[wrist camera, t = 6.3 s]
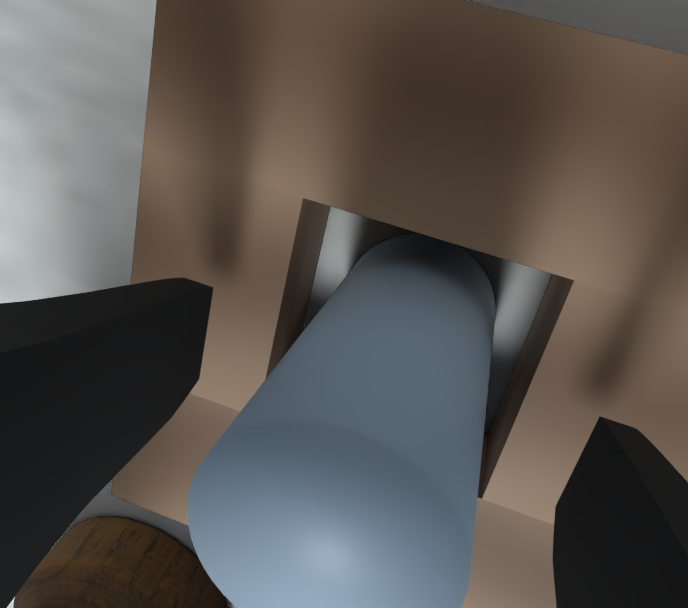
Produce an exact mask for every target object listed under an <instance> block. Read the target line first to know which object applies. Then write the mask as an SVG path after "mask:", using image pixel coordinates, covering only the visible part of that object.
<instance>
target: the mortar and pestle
mask: <svg viewBox="0 0 688 608" xmlns="http://www.w3.org/2000/svg"><path fill="white" fill-rule="evenodd" d="M14 608H228V607H227V603H226V601H225V598H224V596H223V594H222V592H221V591H220V590H219V589H218V587H217V586H216V585H215V584H214V582H213V581H212V580H211V578H210V577H209V575H208V574H207V572H206V571H205V569H204V567H203V566H202V564H201V562H200V561H199V560H198V559H197V558H196V557H195V556H194V555H193V554H192V553H191V552H190V551H189V550H187V549H186V548H185V547H184V546H182V545H181V544H180V543H179V542H177V541H176V540H174V539H172V538H171V537H169V536H168V535H166V534H164V533H162V532H161V531H159V530H156V529H154V528H152V527H150V526H147V525H145V524H142V523H139V522H136V521H133V520H129V519H124V518H117V517H101V518H93V519H89V520H86V521H83V522H81V523H79V524H77V525H75V526H74V527H73V528H71V529H70V530H69V531H68V532H67V533H66V534H65V535H64V536H63V537H62V538H61V539H60V540H59V541H58V542H57V543H56V544H55V545H54V546H53V548H52V549H51V550H50V551H49V552H48V553H47V555H46V556H45V557H44V558H43V560H42V561H41V562H40V563H39V565H38V566H37V567H36V569H35V570H34V571H33V573H32V574H31V575H30V577H29V578H28V579H27V581H26V582H25V583H24V585H23V586H22V587H21V589H20V590H19V592H18V593H17V594H16V596H15V599H14Z"/></svg>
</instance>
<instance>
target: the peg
mask: <svg viewBox="0 0 688 608" xmlns="http://www.w3.org/2000/svg"><path fill="white" fill-rule="evenodd" d="M494 323H495V299H494V293H493V290H492V287H491V284H490V282H489V280H488V277H487V275H486V274H485V272H484V271H483V269H482V268H481V266H480V265H479V264H478V263H477V262H476V260H475V259H474V258H472V257H471V256H470V255H469V254H468V253H467V252H466V251H464V250H463V249H461V248H460V247H458V246H456V245H455V244H453V243H450V242H447V241H443V240H440V239H437V238H434V237H430V236H427V235H404V236H398V237H395V238H391V239H388V240H386V241H384V242H381V243H379V244H378V245H376V246H374V247H373V248H371V249H370V250H369V251H368V252H367V253H365V254H364V255H363V256H362V257H361V259H360V260H359V261H358V262H357V263H356V265H355V266H354V267H353V268H352V270H351V271H350V272H349V273H348V275H347V276H346V277H345V279H344V280H343V281H342V282H341V284H340V285H339V286H338V288H337V289H336V290H335V291H334V293H333V294H332V295H331V296H330V298H329V299H328V300H327V302H326V303H325V304H324V305H323V307H322V308H321V309H320V311H319V312H318V313H317V314H316V316H315V317H314V318H313V320H312V321H311V322H310V323H309V325H308V326H307V327H306V328H305V330H304V331H303V332H302V334H301V335H300V336H299V337H298V339H297V340H296V341H295V343H294V344H293V345H292V346H291V348H290V349H289V350H288V351H287V353H286V354H285V355H284V357H283V358H282V359H281V360H280V362H279V363H278V364H277V366H276V367H275V368H274V369H273V371H272V372H271V373H270V374H269V376H268V377H267V378H266V380H265V381H264V382H263V383H262V385H261V386H260V387H259V389H258V390H257V391H256V392H255V394H254V395H253V396H252V398H251V399H250V400H249V401H248V403H247V404H246V405H245V406H244V408H243V409H242V410H241V412H240V413H239V414H238V415H237V417H236V418H235V419H234V421H233V422H232V423H231V424H230V426H229V427H228V428H227V429H226V431H225V432H224V433H223V435H222V436H221V437H220V438H219V440H218V441H217V442H216V444H215V445H214V446H213V447H212V449H211V450H210V451H209V452H208V454H207V455H206V456H205V458H204V459H203V461H202V462H201V464H200V465H199V467H198V468H197V470H196V472H195V475H194V477H193V479H192V482H191V486H190V490H189V494H188V502H187V518H188V527H189V531H190V536H191V540H192V543H193V545H194V548H195V551H196V554H197V556H198V558H199V560H200V562H201V564H202V566H203V567H204V569H205V571H206V572H207V574H208V575H209V577H210V578H211V580H212V581H213V582H214V584H215V585H216V586H217V587H218V589H219V590H220V591H221V592H222V594H223V595H224V596H225V597H226V598H227V599H228V600H229V601H230V602H231V603H232V604H233V605H234V606H235V607H236V608H460V607H461V605H462V603H463V601H464V598H465V595H466V592H467V589H468V584H469V577H470V569H471V559H472V549H473V539H474V528H475V518H476V508H477V497H478V487H479V477H480V467H481V456H482V446H483V436H484V425H485V415H486V405H487V395H488V384H489V374H490V364H491V353H492V343H493V333H494Z"/></svg>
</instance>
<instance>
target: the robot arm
mask: <svg viewBox="0 0 688 608" xmlns="http://www.w3.org/2000/svg"><path fill="white" fill-rule="evenodd" d="M213 288H214V287H211V286H208V285H205V284H202V283H199V282H196V281H193V280H190V279H187V278H184V277H183V278H168V279H161V280H154V281H148V282H143V283H137V284H131V285H126V286H120V287H115V288H109V289H104V290H98V291H93V292H87V293H80V294H73V295H67V296H60V297H53V298H46V299H39V300H32V301H23V302H13V303H2V304H0V608H7V606H8V605H9V604H10V602H11V601H12V600H13V598H14V597H15V596H16V594H17V593H18V592H19V590H20V589H21V587H22V586H23V585H24V583H25V582H26V581H27V579H28V578H29V577H30V575H31V574H32V573H33V571H34V570H35V569H36V567H37V566H38V565H39V563H40V562H41V561H42V560H43V558H44V557H45V556H46V555H47V553H48V552H49V551H50V550H51V548H52V547H53V546H54V544H55V543H56V542H57V541H58V539H59V538H60V537H61V536H62V534H63V533H64V532H65V531H66V529H67V528H68V527H69V525H70V524H71V523H72V522H73V520H74V519H75V518H76V517H77V516H78V515H79V513H80V512H81V511H82V510H83V509H84V508H85V507H86V506H87V504H88V503H89V502H90V501H91V500H92V499H93V498H94V497H95V496H96V495H97V494H98V493H99V492H100V491H101V490H102V489H103V488H104V487H105V486H106V485H107V484H108V483H109V482H110V480H111V479H112V478H113V477H114V476H115V475H116V474H117V473H118V472H119V471H120V470H121V469H122V468H123V467H124V466H125V465H126V464H127V463H128V462H129V461H130V460H131V459H132V458H133V457H134V456H135V455H136V454H137V453H138V452H139V451H140V450H141V449H142V448H143V447H144V446H145V445H146V444H147V443H148V442H149V441H150V440H151V439H152V438H153V437H154V436H155V435H156V433H157V432H158V431H159V430H160V429H161V428H162V427H163V426H164V425H165V424H166V423H167V422H168V421H169V420H170V419H171V418H172V416H173V415H174V414H175V412H176V411H177V410H178V408H179V407H180V406H181V404H182V403H183V402H184V400H185V399H186V397H187V396H188V395H189V393H190V392H191V390H192V389H193V387H194V386H195V385H196V383H197V382H198V380H199V378H200V371H201V365H202V358H203V352H204V346H205V339H206V333H207V326H208V320H209V313H210V307H211V301H212V294H213ZM552 559H553V572H554V584H555V595H556V607H557V608H688V482H687V481H686V480H685V479H684V477H683V476H682V475H681V474H680V473H679V472H678V471H677V470H676V469H675V468H674V466H673V465H672V464H671V463H670V462H669V461H668V460H667V459H666V458H665V456H664V455H663V454H662V453H661V452H660V451H659V450H658V449H657V448H656V447H655V446H654V445H653V444H652V443H651V442H650V441H649V440H648V439H647V438H646V437H645V436H644V435H643V434H642V433H641V432H640V431H639V430H638V429H636V428H634V427H631V426H628V425H625V424H622V423H619V422H616V421H613V420H610V419H607V418H604V417H601V416H600V417H599V419H598V421H597V423H596V425H595V427H594V429H593V431H592V433H591V435H590V437H589V439H588V441H587V443H586V445H585V447H584V449H583V451H582V453H581V455H580V458H579V460H578V462H577V464H576V466H575V468H574V470H573V472H572V474H571V476H570V478H569V480H568V482H567V484H566V486H565V488H564V490H563V492H562V494H561V496H560V498H559V500H558V502H557V504H556V506H555V520H554V534H553V557H552Z"/></svg>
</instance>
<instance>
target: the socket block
mask: <svg viewBox="0 0 688 608" xmlns="http://www.w3.org/2000/svg"><path fill="white" fill-rule="evenodd" d="M330 206H332V207H335V208H338V209H341V210H345V211H348V212H351V213H355V214H358V215H361V216H364V217H368V218H371V219H374V220H378V221H381V222H384V223H387V224H391V225H394V226H397V227H401V228H404V229H407V230H411V231H414V232H417V233H420V234H424V235H427V236H430V237H434V238H437V239H440V240H443V241H447V242H450V243H453V244H457V245H460V246H463V247H466V248H470V249H473V250H476V251H480V252H483V253H486V254H489V255H493V256H496V257H499V258H503V259H506V260H509V261H512V262H516V263H519V264H522V265H526V266H529V267H532V268H535V269H539V270H542V271H545V272H549V273H552V276H551V279H550V281H549V284H548V286H547V289H546V291H545V294H544V296H543V299H542V301H541V303H540V306H539V308H538V311H537V313H536V316H535V318H534V321H533V323H532V326H531V328H530V331H529V333H528V336H527V338H526V341H525V343H524V346H523V348H522V350H521V353H520V355H519V358H518V360H517V363H516V365H515V368H514V370H513V373H512V375H511V378H510V380H509V383H508V385H507V388H506V390H505V393H504V395H503V397H502V400H501V402H500V405H499V407H498V410H497V412H496V415H495V417H494V420H493V422H492V425H491V427H490V430H489V432H488V435H487V434H484V436H483V446H482V456H481V467H480V477H479V487H478V497H477V508H476V518H475V528H474V539H473V549H472V559H471V569H470V577H469V584H468V589H467V592H466V595H465V598H464V601H463V603H462V605H461V607H460V608H557V607H556V595H555V584H554V572H553V559H552V557H553V534H554V520H555V506H556V504H557V502H558V500H559V498H560V496H561V494H562V492H563V490H564V488H565V486H566V484H567V482H568V480H569V478H570V476H571V474H572V472H573V470H574V468H575V466H576V464H577V462H578V460H579V458H580V455H581V453H582V451H583V449H584V447H585V445H586V443H587V441H588V439H589V437H590V435H591V433H592V431H593V429H594V427H595V425H596V423H597V421H598V419H599V417H600V416H601V417H604V418H607V419H610V420H613V421H616V422H619V423H622V424H625V425H628V426H631V427H634V428H636V429H638V430H639V431H640V432H641V433H642V434H643V435H644V436H645V437H646V438H647V439H648V440H649V441H650V442H651V443H652V444H653V445H654V446H655V447H656V448H657V449H658V450H659V451H660V452H661V453H662V454H663V455H664V456H665V458H666V459H667V460H668V461H669V462H670V463H671V464H672V465H673V466H674V468H675V469H676V470H677V471H678V472H679V473H680V474H681V475H682V476H683V477H684V479H685V480H686V481H687V482H688V55H685V54H681V53H677V52H673V51H669V50H665V49H661V48H657V47H653V46H648V45H644V44H640V43H636V42H632V41H628V40H624V39H620V38H616V37H612V36H608V35H604V34H600V33H596V32H592V31H588V30H584V29H579V28H575V27H571V26H567V25H563V24H559V23H555V22H551V21H547V20H543V19H539V18H535V17H531V16H527V15H523V14H519V13H515V12H510V11H506V10H502V9H498V8H494V7H490V6H486V5H482V4H478V3H474V2H470V1H466V0H157V4H156V15H155V26H154V37H153V48H152V58H151V69H150V80H149V91H148V102H147V112H146V123H145V134H144V145H143V156H142V167H141V177H140V188H139V199H138V210H137V221H136V232H135V242H134V253H133V264H132V275H131V284H137V283H143V282H148V281H154V280H161V279H168V278H183V277H184V278H187V279H190V280H193V281H196V282H199V283H202V284H205V285H208V286H211V287H214V288H213V294H212V301H211V307H210V313H209V320H208V326H207V333H206V339H205V346H204V352H203V358H202V365H201V371H200V378H199V380H198V382H197V383H196V385H195V386H194V387H193V389H192V390H191V392H190V393H189V395H188V396H187V397H186V399H185V400H184V402H183V403H182V404H181V406H180V407H179V408H178V410H177V411H176V412H175V414H174V415H173V416H172V418H171V419H170V420H169V421H168V422H167V423H166V424H165V425H164V426H163V427H162V428H161V429H160V430H159V431H158V432H157V433H156V435H155V436H154V437H153V438H152V439H151V440H150V441H149V442H148V443H147V444H146V445H145V446H144V447H143V448H142V449H141V450H140V451H139V452H138V453H137V454H136V455H135V456H134V457H133V458H132V459H131V460H130V461H129V462H128V463H127V464H126V465H125V466H124V467H123V468H122V469H121V470H120V471H119V472H118V473H117V474H116V475H115V476H114V477H113V480H112V491H111V495H112V496H114V497H117V498H119V499H122V500H125V501H127V502H130V503H132V504H135V505H137V506H140V507H142V508H145V509H147V510H150V511H152V512H155V513H157V514H160V515H163V516H165V517H168V518H170V519H173V520H175V521H178V522H180V523H183V524H185V525H188V518H187V502H188V494H189V490H190V486H191V482H192V479H193V477H194V475H195V472H196V470H197V468H198V467H199V465H200V464H201V462H202V461H203V459H204V458H205V456H206V455H207V454H208V452H209V451H210V450H211V449H212V447H213V446H214V445H215V444H216V442H217V441H218V440H219V438H220V437H221V436H222V435H223V433H224V432H225V431H226V429H227V428H228V427H229V426H230V424H231V423H232V422H233V421H234V419H235V418H236V417H237V415H238V414H239V413H240V412H241V410H242V409H243V408H244V406H245V405H246V404H247V403H248V401H249V400H250V399H251V398H252V396H253V395H254V394H255V392H256V391H257V390H258V389H259V387H260V386H261V385H262V383H263V382H264V381H265V380H266V378H267V377H268V376H269V374H270V373H271V372H272V371H273V369H274V368H275V367H276V366H277V364H278V363H279V362H280V360H281V359H282V358H283V357H284V355H285V354H286V353H287V351H288V350H289V349H290V348H291V346H292V345H293V344H294V343H295V341H296V340H297V339H298V337H299V336H300V335H301V333H302V328H303V324H304V319H305V315H306V311H307V306H308V302H309V297H310V293H311V289H312V284H313V280H314V276H315V271H316V267H317V262H318V258H319V254H320V249H321V245H322V241H323V236H324V232H325V227H326V223H327V219H328V214H329V210H330Z"/></svg>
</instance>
